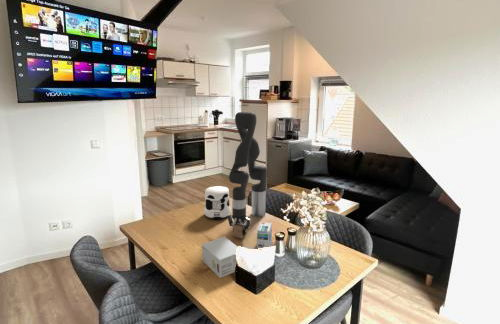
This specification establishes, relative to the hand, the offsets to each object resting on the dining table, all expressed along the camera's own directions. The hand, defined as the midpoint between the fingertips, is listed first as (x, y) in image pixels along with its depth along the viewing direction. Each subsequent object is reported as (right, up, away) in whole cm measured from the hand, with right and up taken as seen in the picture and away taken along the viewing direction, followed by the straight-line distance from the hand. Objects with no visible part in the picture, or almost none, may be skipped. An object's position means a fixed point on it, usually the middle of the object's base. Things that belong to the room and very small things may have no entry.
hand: (239, 233), depth 164 cm
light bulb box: (+14, -4, -8) cm, 16 cm away
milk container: (-15, +5, +29) cm, 33 cm away
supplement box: (-7, -8, -26) cm, 28 cm away
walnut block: (0, -1, 0) cm, 1 cm away
